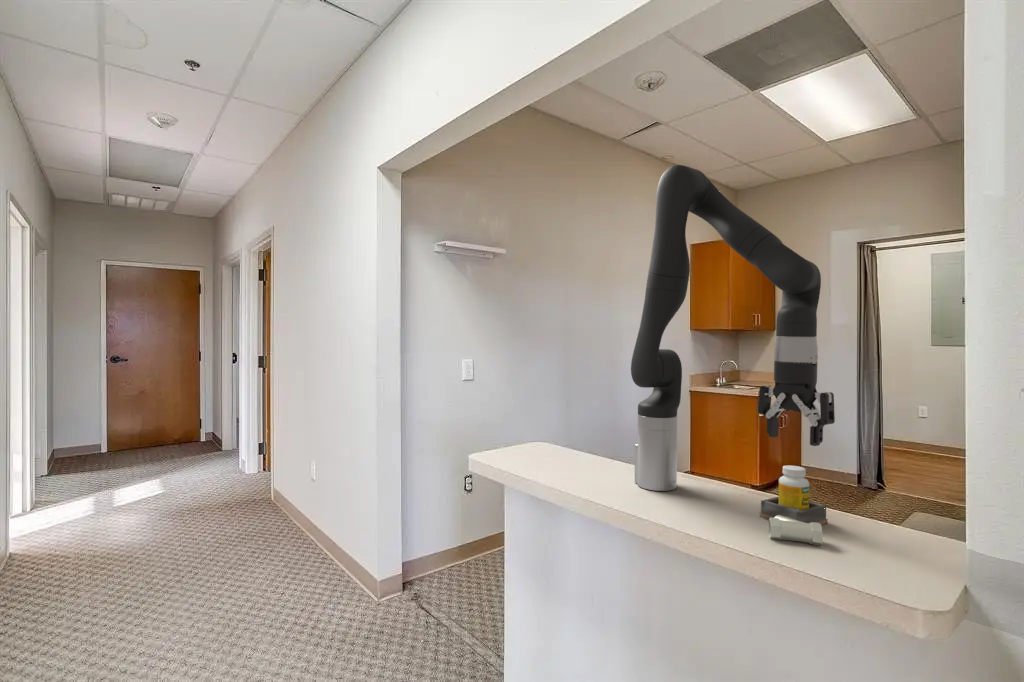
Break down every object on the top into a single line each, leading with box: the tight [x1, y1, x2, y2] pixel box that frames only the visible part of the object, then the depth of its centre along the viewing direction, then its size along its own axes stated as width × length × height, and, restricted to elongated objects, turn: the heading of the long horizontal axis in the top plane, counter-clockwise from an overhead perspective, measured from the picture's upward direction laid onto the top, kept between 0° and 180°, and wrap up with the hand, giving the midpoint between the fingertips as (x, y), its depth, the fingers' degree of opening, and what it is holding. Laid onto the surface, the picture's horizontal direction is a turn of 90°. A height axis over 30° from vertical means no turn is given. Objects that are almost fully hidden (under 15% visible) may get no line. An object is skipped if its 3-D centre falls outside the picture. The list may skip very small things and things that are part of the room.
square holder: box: [758, 496, 829, 526], centre depth 102 cm, size 9×9×3 cm
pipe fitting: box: [768, 515, 824, 546], centre depth 93 cm, size 8×4×7 cm
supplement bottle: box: [778, 465, 810, 511], centre depth 102 cm, size 5×5×10 cm
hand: (793, 441), depth 102 cm, fingers open, 8 cm apart
